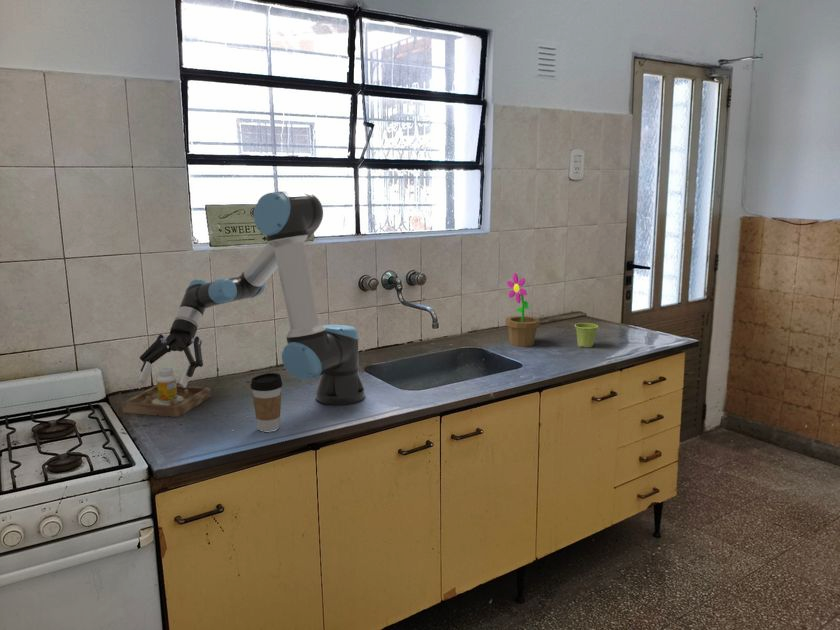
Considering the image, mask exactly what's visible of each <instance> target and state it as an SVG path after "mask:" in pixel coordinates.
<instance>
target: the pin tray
mask: <svg viewBox="0 0 840 630" xmlns="http://www.w3.org/2000/svg"><path fill="white" fill-rule="evenodd" d="M176 387H177V399H176V400H175V401H174V398H169V400H170V402H168V403H164V402H160V401H159V399H158V387H157V384H155V385H154V386H152V387H150V388H148V389H147V390H144V391H142V392H141V393H138V394H136V395H135V396H132V397H131V398H129V399H127V400H125V401H123V402H122V403H121V404H122V413H123V414H124V413H126V414H136V415H145V414H146V416H147V415H149V416H157V415H159V417H168V416H170V418H180V417H181V416H183V415H184V414H186V413H187V412H189V411H190V410H192V409H194V408H195V407H197V406H199V405H200V404H202V403H203V402H205V401H207V400H209V399H210V398H211V387H203V386H190V385H187V386H186V388H183V387H182V386H181V385H180V384H176ZM209 397H210V398H209Z"/></svg>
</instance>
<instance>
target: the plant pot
mask: <svg viewBox="0 0 840 630" xmlns="http://www.w3.org/2000/svg"><path fill="white" fill-rule="evenodd" d="M574 327H575V331H576V340H577V346H578V347H580V348H582V347H583V348H586V349H587V348H592V347H593V346H594V342H595V337H596V334H597V330H598V328H599V324H595V323H589V322H578V323H575V324H574Z"/></svg>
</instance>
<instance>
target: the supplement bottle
mask: <svg viewBox="0 0 840 630" xmlns="http://www.w3.org/2000/svg"><path fill="white" fill-rule="evenodd" d="M173 373H174V370H173V368H172V367H161V368H159V369H158V376H157V378H156V385H157V387H158V399H159V401H160V402H164V403H168V402H170V400H169V398H174V401H175V400H176V399H177V387H176V385H177V378H176V375H174V374H173Z"/></svg>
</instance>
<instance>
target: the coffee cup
mask: <svg viewBox="0 0 840 630" xmlns="http://www.w3.org/2000/svg"><path fill="white" fill-rule="evenodd" d="M282 387H283V381H282V377H281V374H280V373H275V372H268V373H263V374H259V375H256V376H254V377H252V378H251V383H250V389H251V390H252V399H253V401H252V402H253V406H254V407H253V409H254V413H255V414H254V415H255V419H256V426H257V430H258V429H259V430H262V431H271V430H275V429H277V428H279V427H281V424H280V423H281V422H280V421H281V408H282V407H281V405H282ZM279 429H280V428H279Z"/></svg>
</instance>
